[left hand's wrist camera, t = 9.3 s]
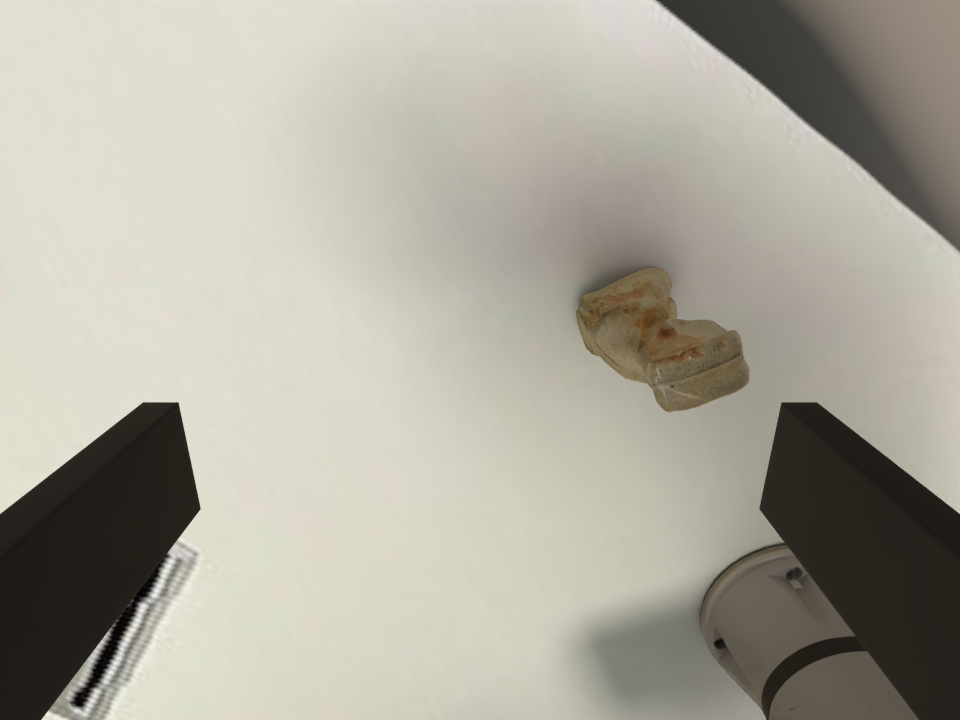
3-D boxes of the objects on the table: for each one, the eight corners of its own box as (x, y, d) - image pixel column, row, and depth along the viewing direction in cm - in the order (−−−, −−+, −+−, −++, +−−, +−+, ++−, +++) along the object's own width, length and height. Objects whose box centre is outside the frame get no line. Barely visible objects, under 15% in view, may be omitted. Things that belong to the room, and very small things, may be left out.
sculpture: (674, 325, 44) (766, 412, 30) (582, 351, 44) (629, 449, 30) (659, 252, 42) (751, 309, 28) (564, 281, 42) (605, 351, 28)
